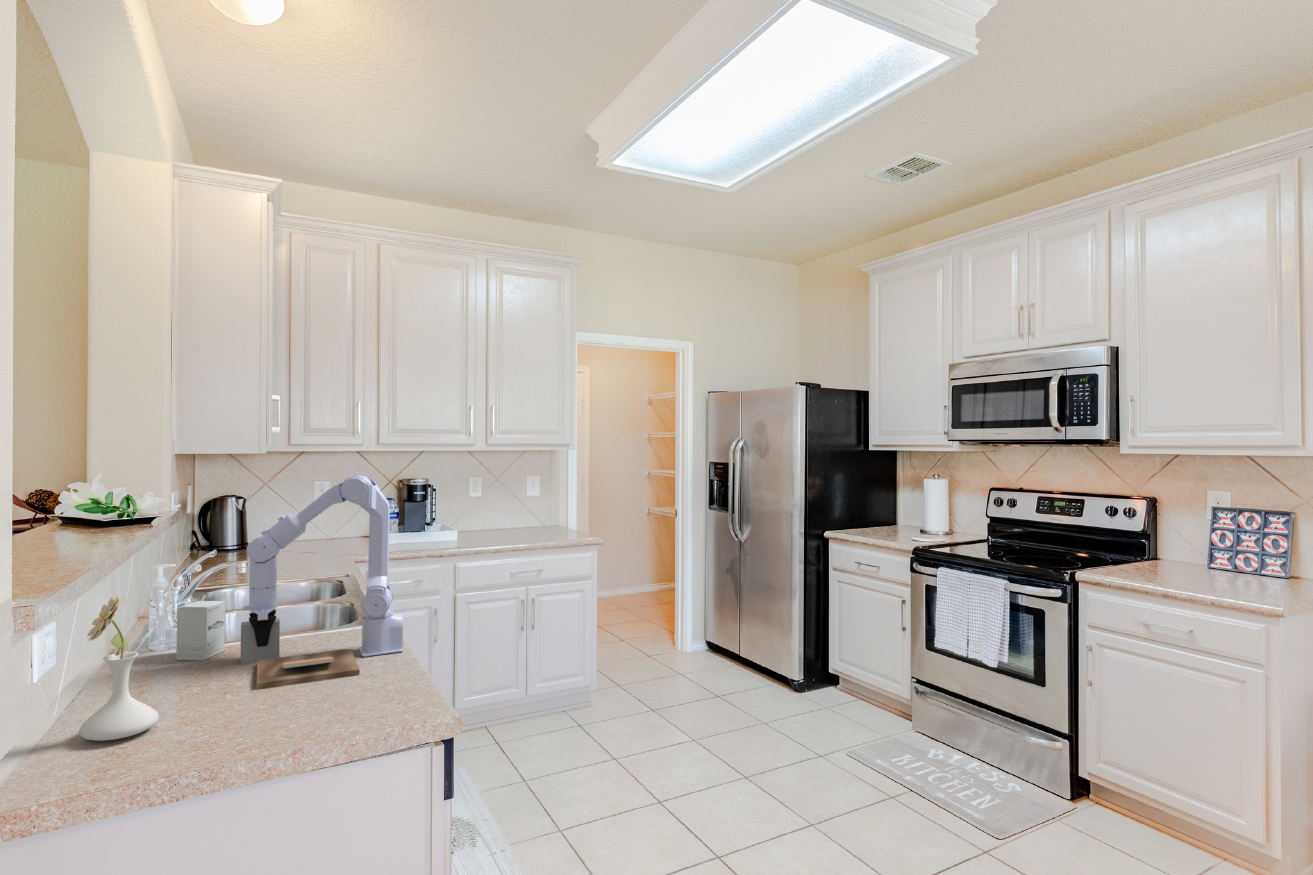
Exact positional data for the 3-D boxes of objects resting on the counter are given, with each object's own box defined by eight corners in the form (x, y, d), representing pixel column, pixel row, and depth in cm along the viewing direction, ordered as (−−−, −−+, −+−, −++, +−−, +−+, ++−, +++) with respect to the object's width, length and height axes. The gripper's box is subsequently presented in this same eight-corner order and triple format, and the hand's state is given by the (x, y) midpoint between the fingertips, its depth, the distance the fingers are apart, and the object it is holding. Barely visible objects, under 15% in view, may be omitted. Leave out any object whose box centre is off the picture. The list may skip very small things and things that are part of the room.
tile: (334, 658, 157) (334, 661, 157) (331, 656, 164) (331, 659, 163) (283, 664, 152) (283, 668, 152) (282, 662, 159) (282, 666, 159)
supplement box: (205, 660, 167) (206, 607, 167) (175, 660, 167) (175, 606, 167) (225, 651, 174) (226, 600, 174) (196, 651, 174) (196, 600, 174)
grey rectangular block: (279, 655, 171) (279, 618, 171) (279, 659, 168) (279, 621, 168) (240, 659, 167) (241, 622, 168) (240, 664, 164) (240, 625, 164)
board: (350, 653, 173) (350, 648, 173) (359, 674, 157) (359, 669, 157) (257, 665, 163) (257, 660, 163) (256, 689, 147) (256, 683, 148)
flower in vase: (90, 726, 128) (92, 588, 128) (165, 717, 132) (167, 584, 133) (64, 756, 116) (66, 604, 116) (148, 744, 121) (149, 598, 121)
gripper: (244, 582, 173) (243, 638, 172) (242, 594, 160) (242, 654, 160) (277, 580, 176) (276, 634, 176) (278, 591, 163) (277, 649, 163)
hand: (262, 643), depth 168 cm, fingers closed on grey rectangular block, 3 cm apart
